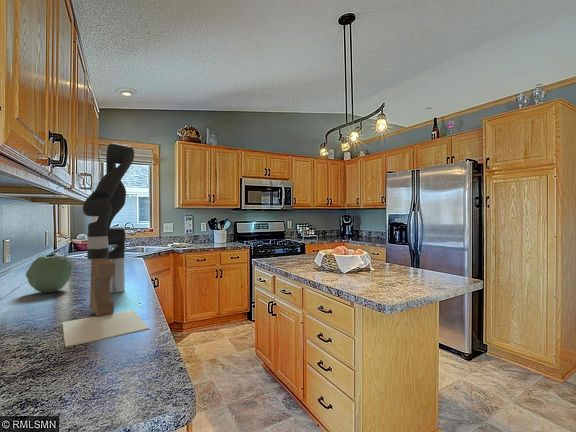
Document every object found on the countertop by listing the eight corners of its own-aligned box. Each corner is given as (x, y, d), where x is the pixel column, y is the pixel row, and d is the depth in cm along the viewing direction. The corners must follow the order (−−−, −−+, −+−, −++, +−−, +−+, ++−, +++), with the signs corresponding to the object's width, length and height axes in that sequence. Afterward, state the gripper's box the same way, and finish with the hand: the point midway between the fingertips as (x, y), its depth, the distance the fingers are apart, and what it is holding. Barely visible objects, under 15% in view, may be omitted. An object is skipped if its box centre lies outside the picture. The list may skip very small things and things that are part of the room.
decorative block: (113, 314, 118) (115, 263, 117) (97, 317, 114) (98, 265, 113) (105, 304, 126) (107, 257, 124) (89, 307, 122) (91, 258, 120)
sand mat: (62, 323, 109) (62, 322, 109) (133, 310, 123) (133, 309, 123) (65, 347, 89) (65, 346, 89) (149, 329, 103) (149, 327, 103)
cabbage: (25, 292, 156) (25, 253, 156) (70, 286, 168) (70, 250, 168) (26, 298, 144) (26, 256, 144) (74, 291, 156) (74, 252, 157)
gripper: (85, 246, 131) (86, 287, 131) (88, 249, 120) (89, 292, 120) (106, 245, 135) (106, 284, 135) (110, 247, 125) (111, 289, 125)
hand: (98, 288), depth 128 cm, fingers closed
